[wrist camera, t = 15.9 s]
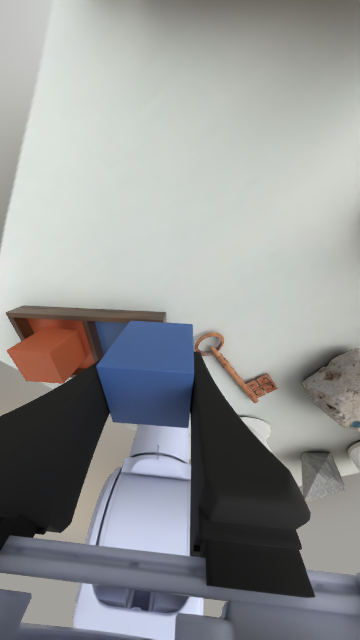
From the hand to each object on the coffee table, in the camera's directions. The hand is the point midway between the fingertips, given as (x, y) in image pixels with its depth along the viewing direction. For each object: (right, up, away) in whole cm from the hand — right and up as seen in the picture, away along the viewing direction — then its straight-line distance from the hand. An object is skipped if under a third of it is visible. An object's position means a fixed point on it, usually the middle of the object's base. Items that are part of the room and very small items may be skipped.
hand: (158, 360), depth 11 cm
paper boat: (+28, -26, +21) cm, 44 cm away
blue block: (0, +1, +1) cm, 1 cm away
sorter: (-9, 0, +10) cm, 14 cm away
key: (+10, -4, +11) cm, 15 cm away
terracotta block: (-14, 0, +10) cm, 17 cm away
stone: (+25, -5, +11) cm, 27 cm away
